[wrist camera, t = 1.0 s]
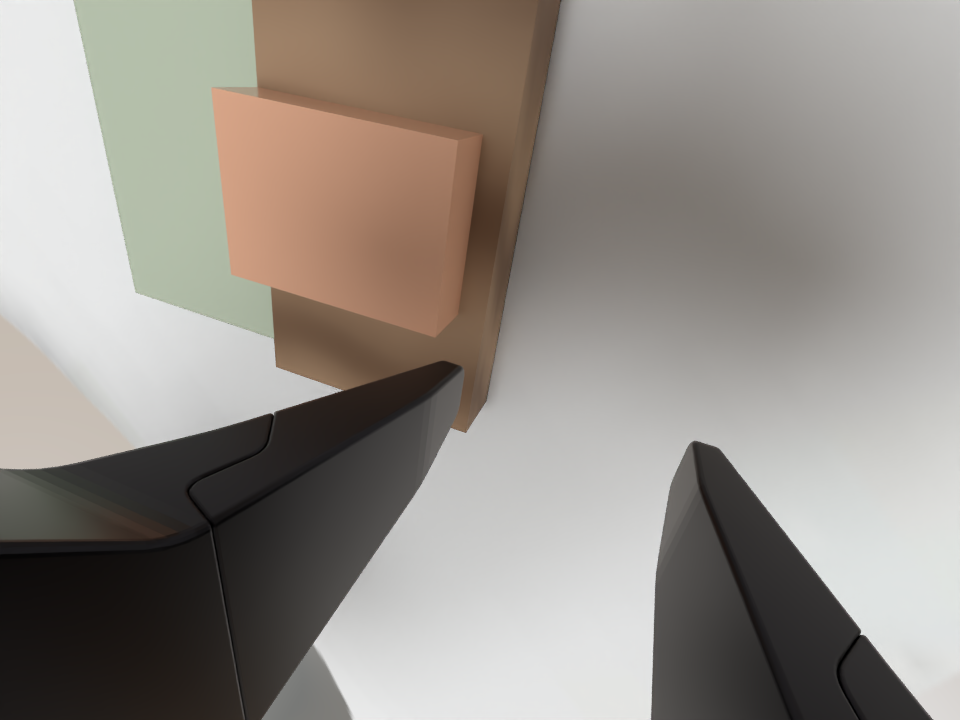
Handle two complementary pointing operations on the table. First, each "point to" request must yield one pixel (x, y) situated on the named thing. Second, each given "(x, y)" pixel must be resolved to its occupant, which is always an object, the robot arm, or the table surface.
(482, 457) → the table surface
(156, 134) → the green mat
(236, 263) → the terracotta tile
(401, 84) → the walnut stand
